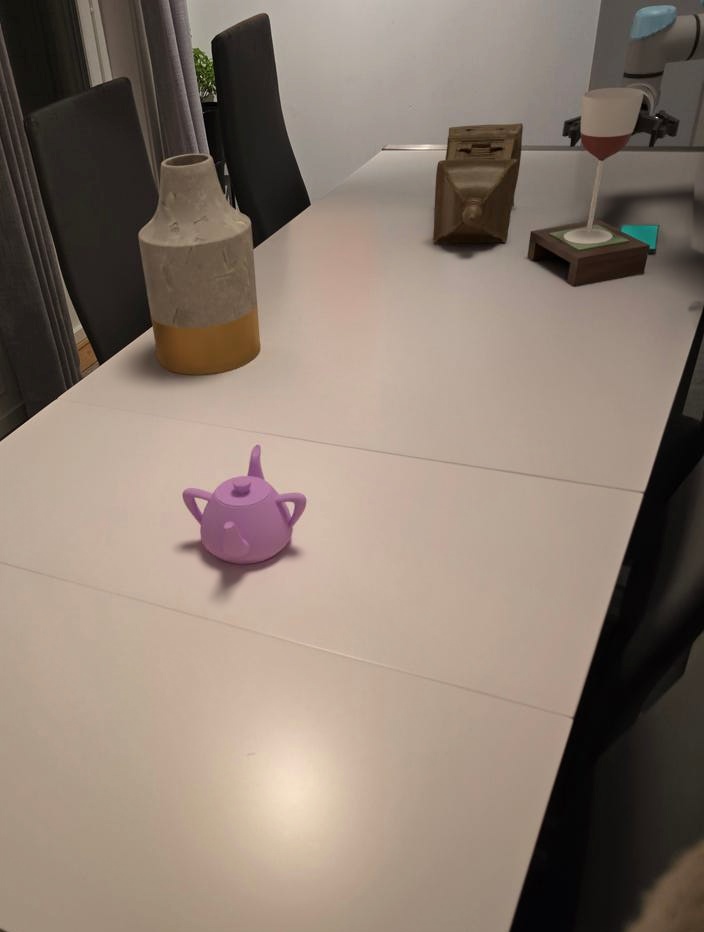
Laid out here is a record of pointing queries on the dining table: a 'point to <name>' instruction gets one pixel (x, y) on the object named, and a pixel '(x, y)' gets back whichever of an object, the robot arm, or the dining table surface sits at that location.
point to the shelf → (591, 253)
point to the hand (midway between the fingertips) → (612, 138)
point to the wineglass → (605, 140)
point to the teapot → (245, 516)
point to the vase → (199, 272)
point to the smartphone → (643, 234)
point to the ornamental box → (477, 183)
